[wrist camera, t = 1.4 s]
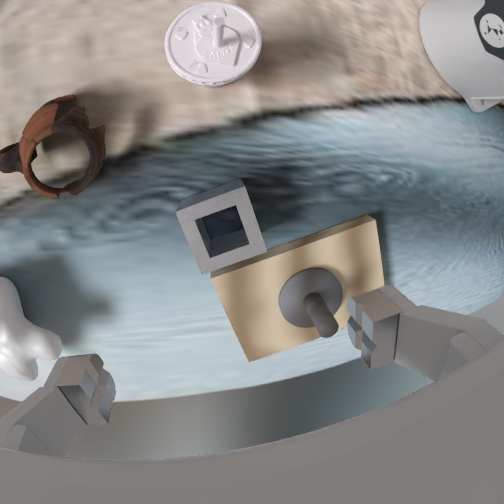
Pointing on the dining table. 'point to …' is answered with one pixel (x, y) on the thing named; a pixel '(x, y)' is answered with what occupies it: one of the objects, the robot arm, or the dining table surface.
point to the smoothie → (213, 43)
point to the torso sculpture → (22, 337)
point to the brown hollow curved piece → (44, 126)
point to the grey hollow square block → (230, 244)
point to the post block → (300, 287)
